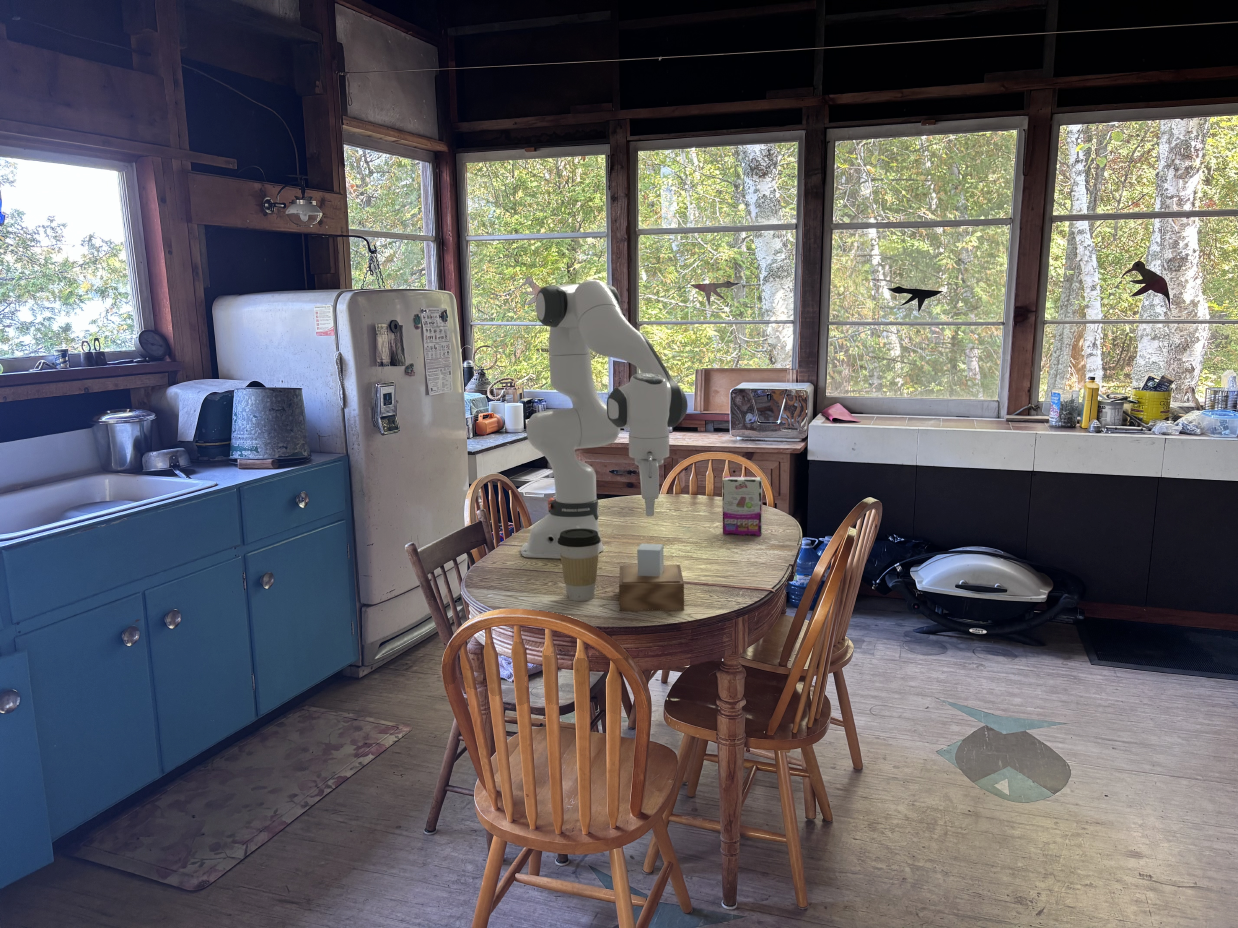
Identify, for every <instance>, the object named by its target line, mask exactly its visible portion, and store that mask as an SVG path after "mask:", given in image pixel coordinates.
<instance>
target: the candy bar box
mask: <svg viewBox="0 0 1238 928" xmlns="http://www.w3.org/2000/svg"><path fill="white" fill-rule="evenodd" d="M721 487H722V489H721V490H722V535H727V536H729V535H730V536H754V537H756V536H757V537H759V536H762V533H763V477H762V476H761V477H759V476H757V477H756V476H724V477H723V479H722V486H721Z"/></svg>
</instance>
